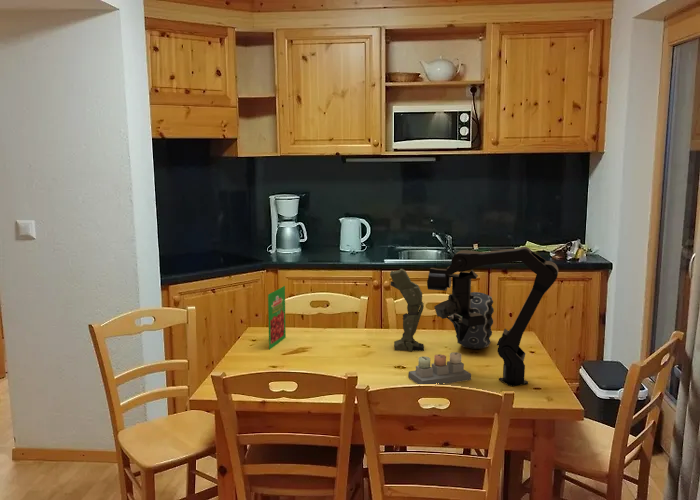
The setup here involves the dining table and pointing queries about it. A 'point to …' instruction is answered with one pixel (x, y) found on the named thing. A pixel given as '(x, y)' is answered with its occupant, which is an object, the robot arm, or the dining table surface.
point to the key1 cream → (455, 357)
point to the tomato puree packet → (276, 316)
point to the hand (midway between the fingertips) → (460, 340)
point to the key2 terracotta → (440, 360)
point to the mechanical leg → (414, 302)
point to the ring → (480, 333)
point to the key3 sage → (424, 362)
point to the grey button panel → (440, 374)
